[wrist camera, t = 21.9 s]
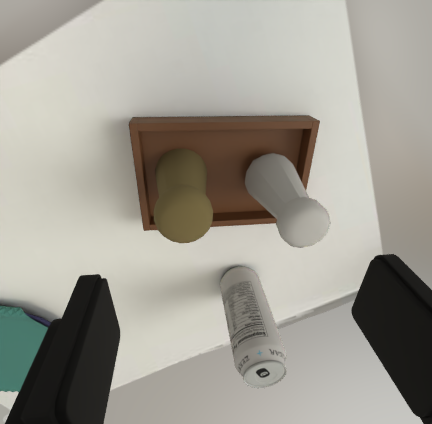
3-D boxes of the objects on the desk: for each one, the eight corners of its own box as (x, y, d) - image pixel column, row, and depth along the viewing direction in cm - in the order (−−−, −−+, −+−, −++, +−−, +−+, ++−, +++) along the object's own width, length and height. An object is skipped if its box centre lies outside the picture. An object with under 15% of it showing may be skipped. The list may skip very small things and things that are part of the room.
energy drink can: (230, 297, 45) (252, 396, 32) (212, 275, 42) (228, 374, 29) (263, 281, 44) (299, 376, 31) (246, 257, 41) (279, 351, 28)
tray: (309, 115, 32) (320, 121, 29) (292, 211, 38) (299, 221, 36) (132, 117, 29) (128, 123, 27) (145, 218, 36) (143, 230, 33)
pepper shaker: (215, 184, 34) (230, 237, 24) (170, 204, 34) (168, 263, 25) (193, 139, 31) (202, 180, 21) (144, 162, 31) (132, 211, 22)
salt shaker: (255, 200, 36) (292, 270, 25) (231, 167, 33) (260, 228, 22) (295, 174, 34) (353, 235, 23) (274, 137, 32) (328, 186, 21)
